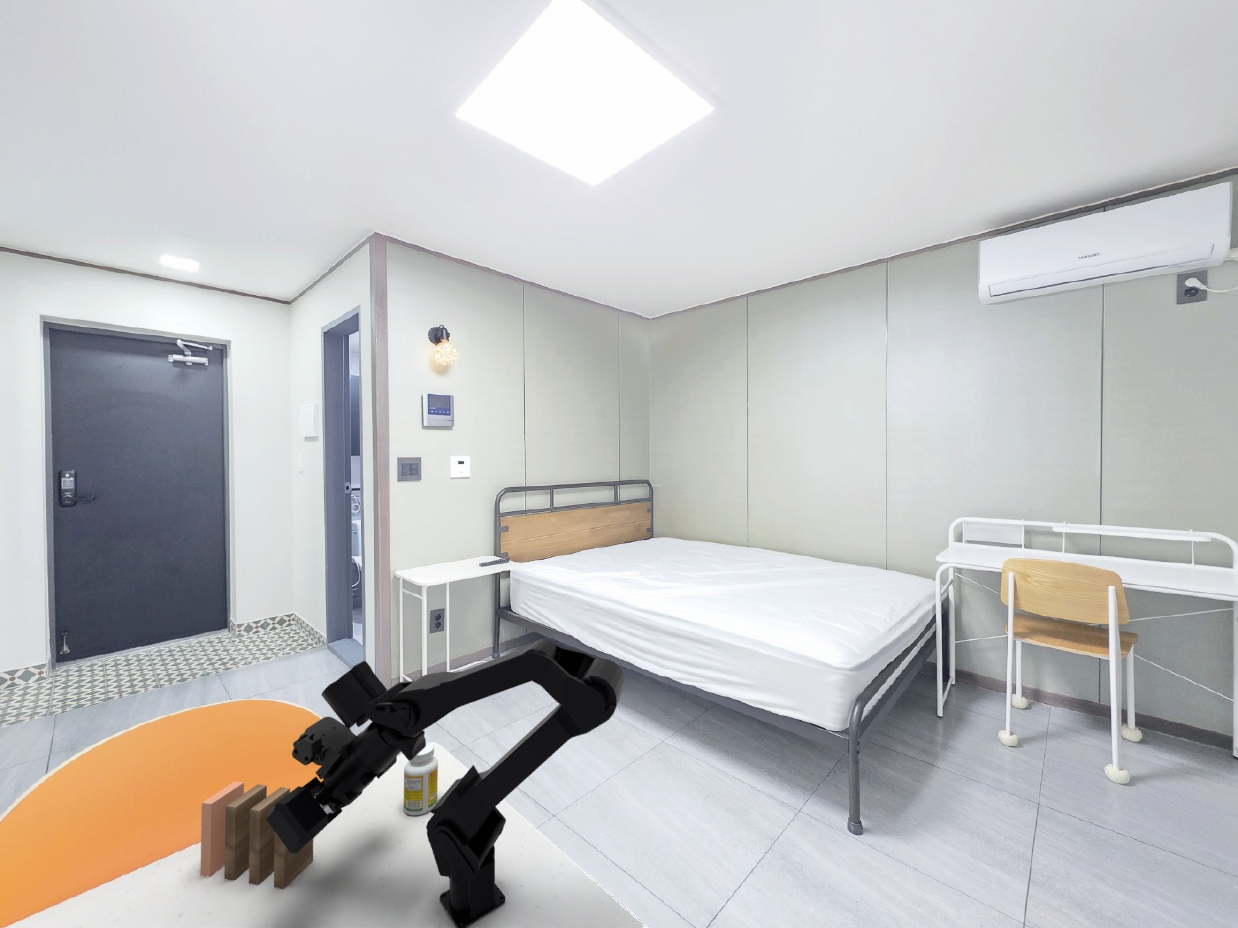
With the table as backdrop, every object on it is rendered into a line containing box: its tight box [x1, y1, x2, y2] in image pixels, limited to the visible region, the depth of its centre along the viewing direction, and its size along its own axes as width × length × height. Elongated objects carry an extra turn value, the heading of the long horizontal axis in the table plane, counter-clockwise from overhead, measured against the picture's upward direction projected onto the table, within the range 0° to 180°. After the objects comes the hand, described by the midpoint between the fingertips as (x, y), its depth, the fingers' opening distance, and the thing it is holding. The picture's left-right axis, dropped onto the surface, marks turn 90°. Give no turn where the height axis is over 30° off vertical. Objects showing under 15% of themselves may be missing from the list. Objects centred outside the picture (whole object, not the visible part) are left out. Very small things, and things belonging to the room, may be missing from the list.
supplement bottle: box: [403, 742, 439, 817], centre depth 84 cm, size 5×5×10 cm
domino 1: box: [199, 781, 245, 878], centre depth 72 cm, size 2×5×10 cm, turn 170°
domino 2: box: [223, 783, 268, 882], centre depth 71 cm, size 2×5×10 cm, turn 170°
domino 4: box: [273, 833, 314, 890], centre depth 70 cm, size 2×5×10 cm, turn 170°
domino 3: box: [248, 786, 291, 886], centre depth 71 cm, size 2×5×10 cm, turn 170°
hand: (302, 821), depth 70 cm, fingers closed
